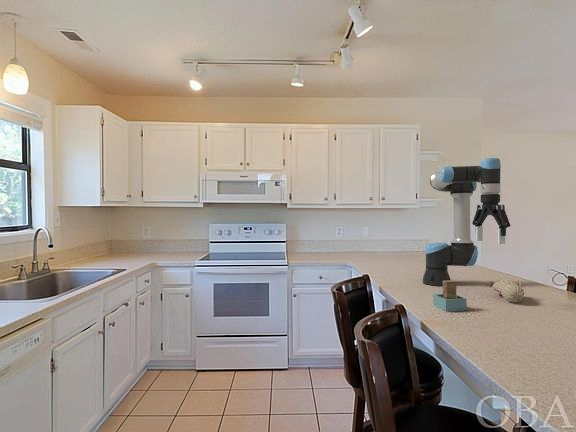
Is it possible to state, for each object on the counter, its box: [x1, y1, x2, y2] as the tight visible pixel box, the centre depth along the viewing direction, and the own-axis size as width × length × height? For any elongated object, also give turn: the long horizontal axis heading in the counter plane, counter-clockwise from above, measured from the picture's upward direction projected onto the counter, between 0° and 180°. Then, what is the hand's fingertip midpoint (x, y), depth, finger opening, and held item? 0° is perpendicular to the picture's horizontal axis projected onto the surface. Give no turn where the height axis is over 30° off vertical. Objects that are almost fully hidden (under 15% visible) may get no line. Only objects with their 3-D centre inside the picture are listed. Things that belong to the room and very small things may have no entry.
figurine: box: [488, 279, 525, 304], centre depth 173 cm, size 12×9×30 cm
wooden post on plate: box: [442, 279, 457, 299], centre depth 155 cm, size 4×4×11 cm
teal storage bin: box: [432, 293, 468, 312], centre depth 155 cm, size 10×10×5 cm
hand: (490, 242), depth 155 cm, fingers open, 13 cm apart
